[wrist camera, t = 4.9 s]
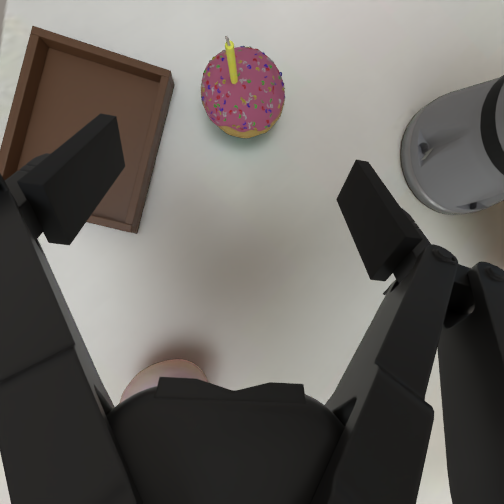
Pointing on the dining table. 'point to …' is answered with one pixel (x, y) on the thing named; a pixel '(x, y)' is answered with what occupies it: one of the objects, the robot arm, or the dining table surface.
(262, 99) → the cupcake
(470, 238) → the dining table surface
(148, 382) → the decorative fruit
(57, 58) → the tray
